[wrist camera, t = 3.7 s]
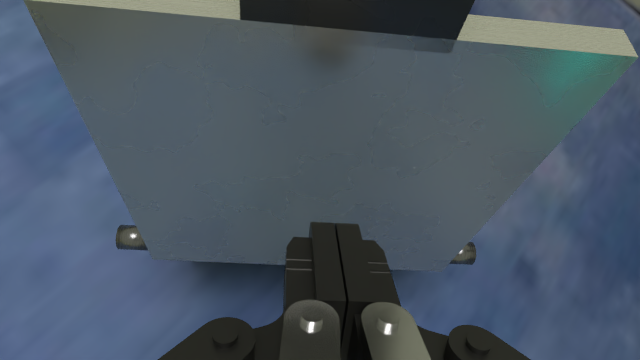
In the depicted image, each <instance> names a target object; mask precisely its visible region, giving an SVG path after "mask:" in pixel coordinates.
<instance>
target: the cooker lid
mask: <svg viewBox="0 0 640 360" xmlns="http://www.w3.org/2000/svg"><path fill="white" fill-rule="evenodd" d="M474 1H475V0H24V2H25V4H26V6H27V8H28V10H29V12H30V14H31V16H32V18H33V20H34V22H35V24H36V26H37V28H38V30H39V32H40V34H41V36H42V38H43V40H44V42H45V44H46V46H47V48H48V50H49V52H50V54H51V56H52V58H53V60H54V62H55V64H56V66H57V68H58V70H59V72H60V74H61V76H62V78H63V80H64V82H65V84H66V86H67V88H68V90H69V92H70V94H71V96H72V98H73V100H74V102H75V104H76V107H77V109H78V111H79V113H80V115H81V117H82V119H83V121H84V123H85V125H86V127H87V129H88V131H89V133H90V135H91V137H92V139H93V141H94V143H95V145H96V147H97V149H98V151H99V153H100V155H101V157H102V159H103V161H104V163H105V165H106V167H107V169H108V171H109V173H110V175H111V177H112V179H113V181H114V183H115V185H116V187H117V189H118V191H119V193H120V195H121V197H122V199H123V201H124V203H125V205H126V207H127V209H128V211H129V213H130V215H131V217H132V219H133V221H134V223H135V225H136V227H137V229H138V231H139V233H140V235H141V237H142V239H143V241H144V243H145V245H146V247H147V249H148V251H149V253H150V255H151V257H152V259H154V260H177V261H201V262H225V263H248V264H272V265H285V261H286V248H287V245H288V244H289V242H290V241H291V240H292V238H293V237H308V238H309V228H310V222H328V223H334V224H335V223H350V224H358V225H359V228H360V232H361V236H362V240H374V241H375V242H376V243H377V244H378V245H379V246H380V247H381V248H382V249H383V250H384V253H385V256H386V259H387V264H388V266H389V269H390V270H414V271H437V272H442V271H443V270H444V269H445V267H446V266H447V265H448V264H449V263H450V262H451V261H452V260H453V259H454V258H455V257H456V255H457V254H458V253H459V252H460V251H461V250H462V249H463V248H464V247H465V246H466V245H467V243H468V242H469V241H470V240H471V239H472V238H473V237H474V236H475V235H476V234H477V233H478V231H479V230H480V229H481V228H482V227H483V226H484V225H485V224H486V223H487V222H488V221H489V219H490V218H491V217H492V216H493V215H494V214H495V213H496V212H497V211H498V210H499V208H500V207H501V206H502V205H503V204H504V203H505V202H506V201H507V200H508V199H509V198H510V196H511V195H512V194H513V193H514V192H515V191H516V190H517V189H518V188H519V187H520V186H521V184H522V183H523V182H524V181H525V180H526V179H527V178H528V177H529V176H530V175H531V174H532V172H533V171H534V170H535V169H536V168H537V167H538V166H539V165H540V164H541V163H542V162H543V160H544V159H545V158H546V157H547V156H548V155H549V154H550V153H551V152H552V151H553V150H554V148H555V147H556V146H557V145H558V144H559V143H560V142H561V141H562V140H563V139H564V138H565V136H566V135H567V134H568V133H569V132H570V131H571V130H572V129H573V128H574V127H575V126H576V124H577V123H578V122H579V121H580V120H581V119H582V118H583V117H584V116H585V115H586V114H587V112H588V111H589V110H590V109H591V108H592V107H593V106H594V105H595V104H596V103H597V102H598V100H599V99H600V98H601V97H602V96H603V95H604V94H605V93H606V92H607V91H608V90H609V88H610V87H611V86H612V85H613V84H614V83H615V82H616V81H617V80H618V79H619V78H620V76H621V75H622V74H623V73H624V72H625V71H626V70H627V69H628V68H629V67H630V66H631V64H632V63H633V62H634V61H635V60H636V59H637V58H638V56H637V54H636V52H635V50H634V48H633V46H632V45H631V43H630V41H629V39H628V37H627V36H626V34H625V32H624V30H620V29H610V28H600V27H590V26H580V25H570V24H559V23H549V22H539V21H529V20H519V19H509V18H499V17H489V16H479V15H469V12H470V10H471V7H472V5H473V3H474Z"/></svg>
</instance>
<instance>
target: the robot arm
mask: <svg viewBox="0 0 640 360" xmlns="http://www.w3.org/2000/svg"><path fill="white" fill-rule="evenodd" d="M283 297H284V299H283V314H282V315H281V316H280V318H279V319H277V320H276V321H275V322H273V323H271V324H269V325H266V326H263V327H259V328H255V329H252V327H251V326H250V325H249V324H247V323H246V322H244V321H243V320H240V319H237V318H230V317H225V318H218V319H215V320H212V321H210V322H208V323H206V324H205V325H203V326H202V327H201V328H199V329H198V330H197V331H195V332H194V333H193V334H191V335H190V336H189V337H187V338H186V339H185V340H183V341H182V342H181V343H179V344H178V345H177V346H175V347H174V348H173V349H171V350H170V351H169V352H167V353H166V354H165V355H163V356H162V357H161V358H159V359H158V360H530V359H529V358H527V357H526V356H524V355H523V354H522V353H520V352H519V351H517V350H516V349H514V348H513V347H511V346H510V345H508V344H507V343H505V342H504V341H502V340H501V339H500V338H498V337H497V336H495V335H494V334H492V333H491V332H489V331H487V330H485V329H483V328H480V327H477V326H473V325H461V326H458V327H456V328H454V329H453V330H452V331H451V332H450V334H449V336H446V335H442V334H439V333H435V332H432V331H429V330H426V329H423V328H421V327H419V326H417V325H416V323H415V321H414V319H413V317H412V316H411V314H410V313H409V312H408V311H407V310H405V309H404V308H402V307H401V305H400V302H399V298H398V295H397V292H396V289H395V285H394V282H393V279H392V276H391V274H390V269H389V266H388V264H387V259H386V256H385V253H384V250H383V249H382V248H381V247H380V246H379V245H378V244H377V243H376V242H375V241H374V240H362V236H361V232H360V228H359V225H358V224H350V223H335V224H334V223H328V222H310V228H309V238H308V237H293V238H292V240H291V241H290V242H289V244H288V245H287V248H286V261H285V275H284V296H283Z"/></svg>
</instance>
